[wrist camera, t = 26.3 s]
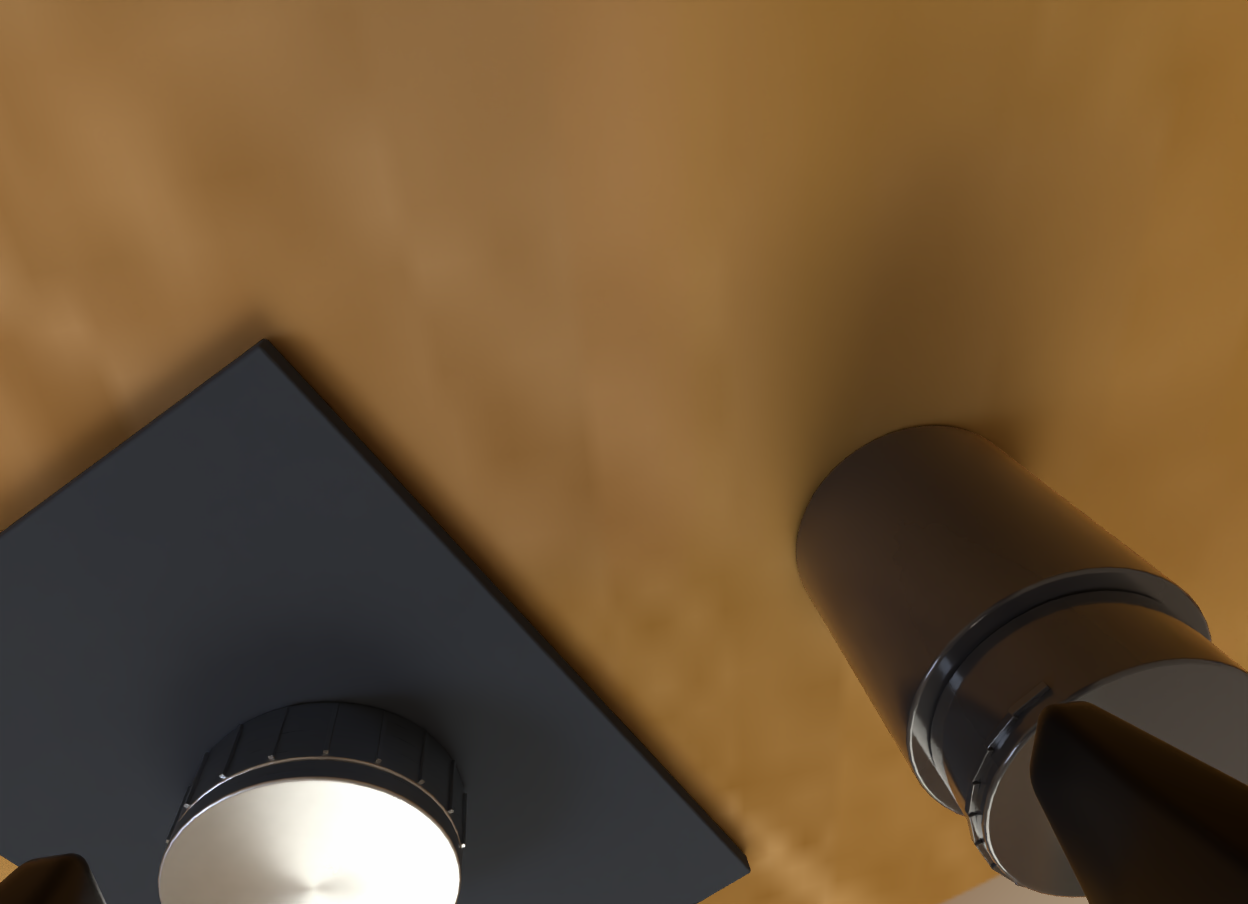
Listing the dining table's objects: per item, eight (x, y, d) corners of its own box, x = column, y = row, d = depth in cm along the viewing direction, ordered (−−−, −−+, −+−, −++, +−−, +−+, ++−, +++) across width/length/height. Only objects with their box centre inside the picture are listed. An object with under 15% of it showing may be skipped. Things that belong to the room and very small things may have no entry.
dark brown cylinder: (752, 515, 21) (901, 777, 13) (967, 376, 20) (1254, 569, 13) (859, 668, 24) (1037, 962, 16) (1054, 549, 23) (1339, 798, 15)
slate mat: (-216, 692, 19) (-236, 709, 19) (265, 336, 18) (258, 344, 17) (379, 1071, 28) (377, 1092, 27) (746, 855, 26) (752, 872, 25)
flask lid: (428, 911, 24) (422, 999, 22) (168, 879, 22) (131, 971, 20) (499, 727, 22) (500, 804, 20) (214, 675, 20) (179, 753, 18)
